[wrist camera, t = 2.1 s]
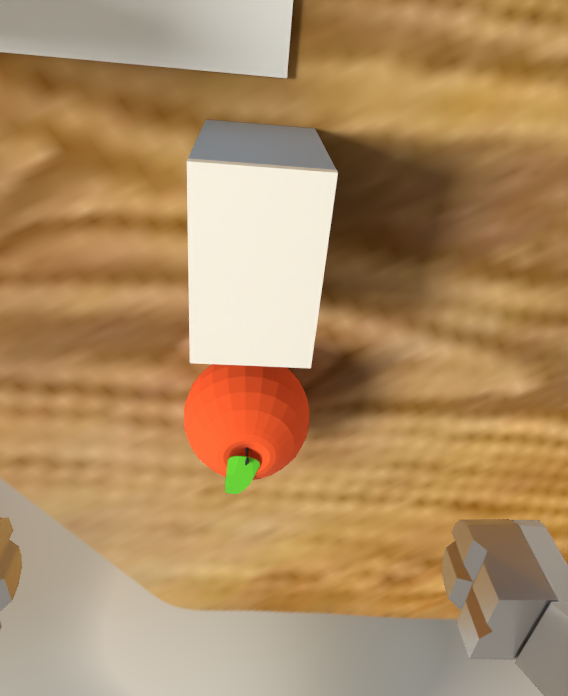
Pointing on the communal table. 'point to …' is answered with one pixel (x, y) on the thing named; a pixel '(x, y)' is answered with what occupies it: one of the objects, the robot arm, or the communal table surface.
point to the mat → (154, 32)
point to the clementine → (246, 421)
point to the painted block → (257, 242)
